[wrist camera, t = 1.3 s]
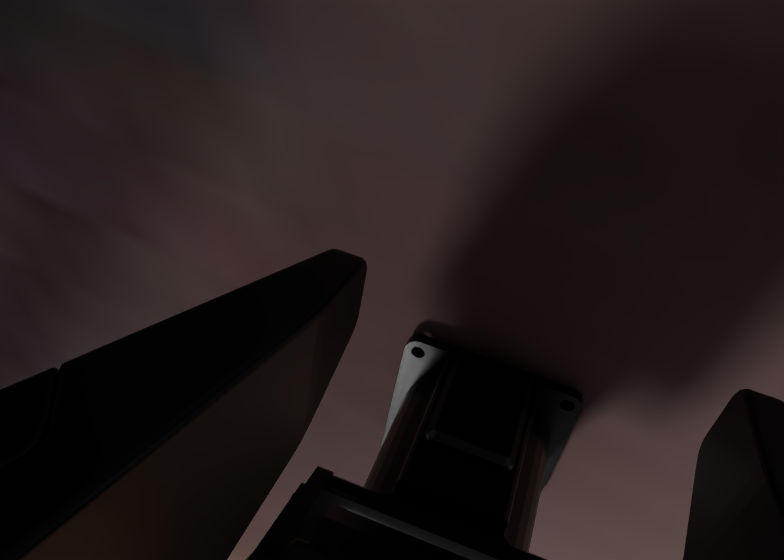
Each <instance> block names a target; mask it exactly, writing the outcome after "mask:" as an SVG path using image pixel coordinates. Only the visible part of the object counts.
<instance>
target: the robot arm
mask: <svg viewBox="0 0 784 560" xmlns="http://www.w3.org/2000/svg"><path fill="white" fill-rule="evenodd" d="M366 271H367V264H366V261H365V260H364V259H363V258H362V257H359V256H356V255H353V254H350V253H347V252H344V251H341V250H338V249H330V250H327V251H325V252H323V253H320V254H318V255H316V256H313V257H311V258H309V259H306V260H304V261H301V262H299V263H297V264H294V265H292V266H290V267H287V268H285V269H283V270H280V271H278V272H276V273H273V274H271V275H269V276H266V277H264V278H262V279H259V280H257V281H255V282H252V283H250V284H248V285H245V286H243V287H240V288H238V289H236V290H233V291H231V292H229V293H226V294H224V295H222V296H219V297H217V298H215V299H212V300H210V301H208V302H205V303H203V304H201V305H198V306H196V307H194V308H191V309H189V310H187V311H184V312H182V313H179V314H177V315H175V316H172V317H170V318H168V319H165V320H163V321H161V322H158V323H156V324H154V325H151V326H149V327H147V328H144V329H142V330H140V331H137V332H135V333H133V334H130V335H128V336H126V337H123V338H121V339H119V340H116V341H114V342H111V343H109V344H107V345H104V346H102V347H100V348H97V349H95V350H93V351H90V352H88V353H86V354H83V355H81V356H79V357H76V358H74V359H72V360H69V361H67V362H65V363H62V364H61V366H60V368H59V370H58V369H56V368H50V369H47V370H45V371H43V372H40V373H38V374H36V375H33V376H31V377H29V378H26V379H24V380H22V381H19V382H17V383H15V384H12V385H10V386H7V387H5V388H2V389H0V560H227V559H228V557H229V555H230V554H231V552H232V551H233V549H234V548H235V546H236V544H237V543H238V541H239V540H240V538H241V536H242V535H243V533H244V532H245V530H246V529H247V527H248V525H249V524H250V522H251V521H252V519H253V518H254V516H255V514H256V513H257V511H258V510H259V508H260V506H261V505H262V503H263V502H264V500H265V499H266V497H267V495H268V494H269V492H270V491H271V489H272V487H273V486H274V484H275V483H276V481H277V480H278V478H279V476H280V475H281V473H282V472H283V470H284V468H285V467H286V465H287V464H288V462H289V461H290V459H291V457H292V456H293V454H294V452H295V451H296V449H297V447H298V446H299V444H300V442H301V440H302V439H303V437H304V435H305V433H306V431H307V429H308V427H309V425H310V423H311V421H312V419H313V416H314V414H315V412H316V410H317V408H318V406H319V404H320V402H321V399H322V397H323V395H324V393H325V391H326V389H327V387H328V385H329V382H330V380H331V378H332V376H333V374H334V372H335V370H336V368H337V365H338V363H339V361H340V359H341V357H342V355H343V353H344V350H345V348H346V346H347V344H348V342H349V340H350V338H351V336H352V333H353V331H354V328H355V326H356V323H357V319H358V316H359V311H360V305H361V299H362V294H363V288H364V283H365V277H366ZM416 347H420V348H421V349H423V350H424V351H420V350H418V349H416ZM564 400H569V401H571V402H573V403H566V402H564ZM582 403H583V397H582V394H581V393H580V392H579V391H577V390H576V389H574V388H571V387H568V386H565V385H563V384H560V383H557V382H554V381H551V380H548V379H546V378H543V377H540V376H537V375H534V374H531V373H529V372H526V371H523V370H520V369H517V368H514V367H512V366H509V365H506V364H503V363H500V362H497V361H495V360H492V359H489V358H486V357H483V356H480V355H478V354H475V353H472V352H469V351H466V350H463V349H461V348H458V347H455V346H452V345H449V344H446V343H444V342H441V341H438V340H435V339H432V338H429V337H427V336H424V335H413V336H412V337H410V339H409V340H408V342H407V344H406V347H405V349H404V354H403V358H402V362H401V366H400V370H399V374H398V378H397V383H396V387H395V391H394V395H393V399H392V403H391V407H390V411H389V416H388V420H387V424H386V428H385V432H384V436H383V440H382V448H381V450H380V452H379V454H378V457H377V459H376V461H375V463H374V466H373V468H372V470H371V472H370V474H369V477H368V479H367V481H366V483H365V486H364V487H362V486H359V485H357V484H354V483H352V482H349V481H347V480H344V479H342V478H339V477H337V476H334V475H333V473H334V472H332V471H329V470H327V469H324V468H322V467H319V466H318V467H317V468H316V469H315V471H314V472H313V474H312V475H311V476H310V478H309V479H308V481H307V482H306V484H304V483H301V484H300V486H299V487H298V489H297V490H296V492H295V493H294V494H293V495H292V497H291V498H290V500H289V502H288V503H287V505H286V506H285V507H284V509H283V510H282V512H281V513H280V515H279V516H278V517H277V519H276V520H275V522H274V523H273V525H272V526H271V527H270V529H269V530H268V532H267V533H266V535H265V536H264V538H263V539H262V540H261V542H260V543H259V545H258V546H257V548H256V549H255V550H254V552H253V553H252V554H251V555H250V556H249V557H248V558H247V559H246V560H547V559H544V558H542V557H539V556H537V555H534V554H531V553H529V547H530V542H531V537H532V532H533V527H534V522H535V517H536V512H537V507H538V502H539V497H540V493H541V491H542V489H543V487H544V485H545V483H546V481H547V479H548V477H549V475H550V473H551V471H552V469H553V467H554V465H555V463H556V461H557V459H558V457H559V455H560V453H561V451H562V449H563V447H564V445H565V442H566V440H567V438H568V436H569V434H570V432H571V430H572V428H573V426H574V424H575V422H576V420H577V418H578V416H579V414H580V412H581V409H582ZM683 560H784V402H783V401H781V400H779V399H776V398H773V397H770V396H768V395H765V394H762V393H759V392H756V391H753V390H750V389H743V390H739V391H738V392H737V393H736V394H735V395H734V396H733V397H732V398H731V400H730V401H729V402H728V404H727V405H726V407H725V408H724V410H723V411H722V413H721V414H720V416H719V417H718V419H717V420H716V422H715V423H714V424H713V426H712V427H711V429H710V430H709V432H708V433H707V435H706V436H705V438H704V440H703V442H702V444H701V447H700V450H699V454H698V458H697V465H696V472H695V479H694V486H693V493H692V500H691V507H690V515H689V522H688V529H687V536H686V543H685V550H684V557H683Z"/></svg>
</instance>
